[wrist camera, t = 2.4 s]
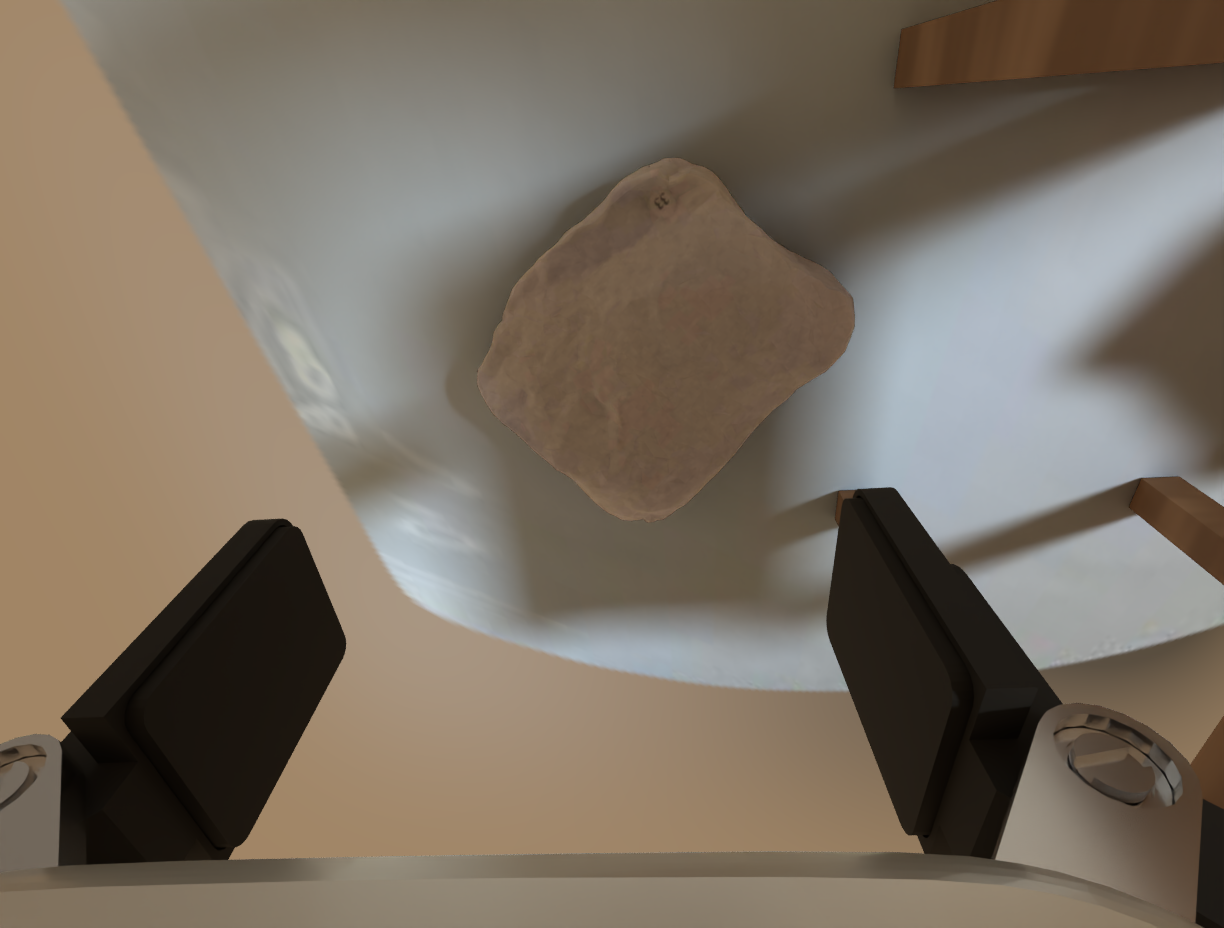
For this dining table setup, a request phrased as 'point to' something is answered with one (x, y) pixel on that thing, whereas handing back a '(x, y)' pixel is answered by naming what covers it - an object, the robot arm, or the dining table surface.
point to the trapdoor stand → (1077, 44)
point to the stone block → (659, 340)
